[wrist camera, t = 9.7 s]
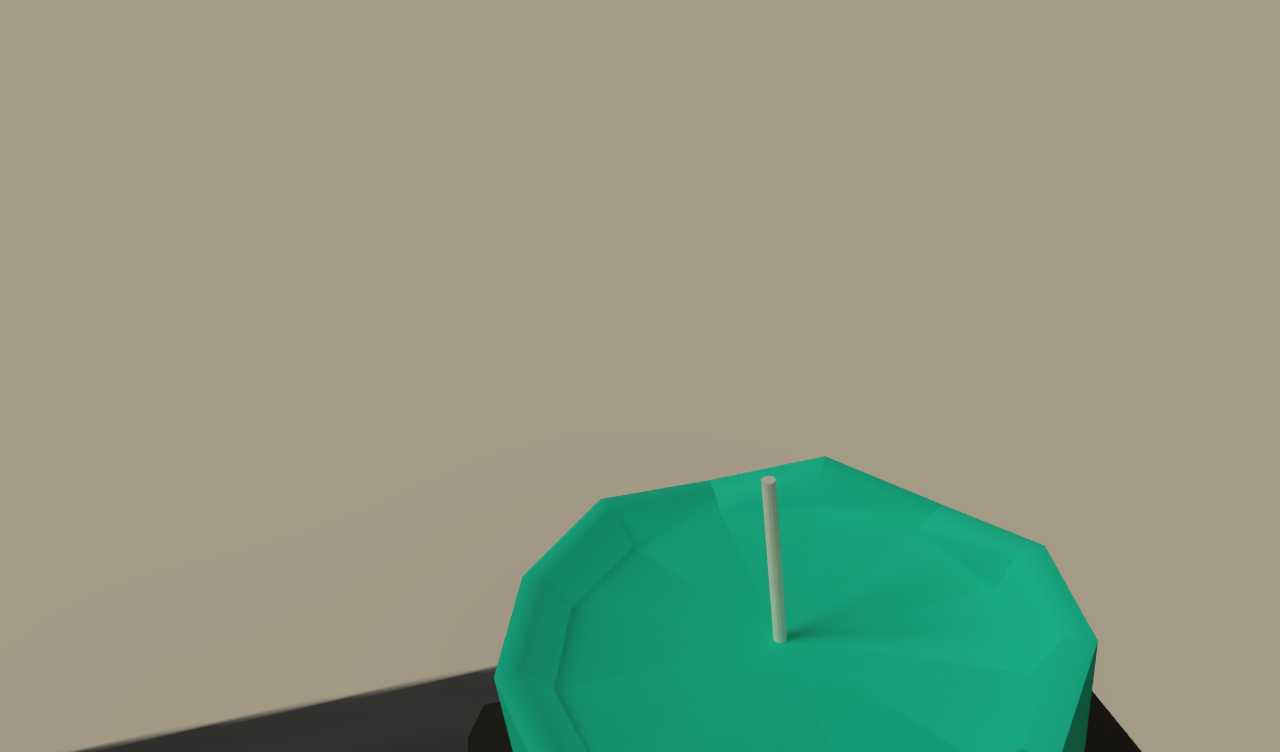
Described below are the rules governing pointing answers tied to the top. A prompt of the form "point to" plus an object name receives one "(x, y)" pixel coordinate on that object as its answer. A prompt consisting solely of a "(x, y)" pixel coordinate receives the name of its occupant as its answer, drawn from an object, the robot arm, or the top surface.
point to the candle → (794, 626)
